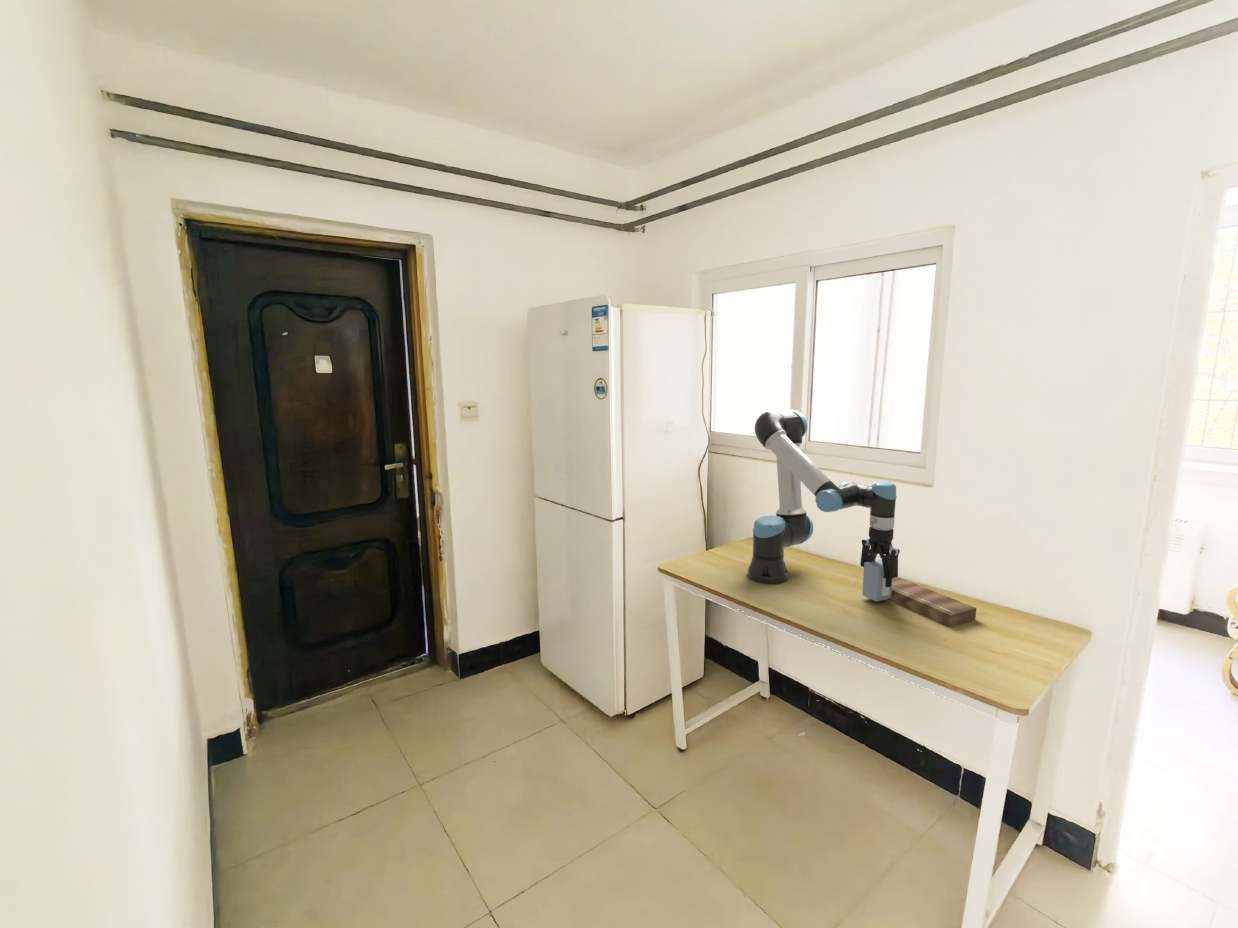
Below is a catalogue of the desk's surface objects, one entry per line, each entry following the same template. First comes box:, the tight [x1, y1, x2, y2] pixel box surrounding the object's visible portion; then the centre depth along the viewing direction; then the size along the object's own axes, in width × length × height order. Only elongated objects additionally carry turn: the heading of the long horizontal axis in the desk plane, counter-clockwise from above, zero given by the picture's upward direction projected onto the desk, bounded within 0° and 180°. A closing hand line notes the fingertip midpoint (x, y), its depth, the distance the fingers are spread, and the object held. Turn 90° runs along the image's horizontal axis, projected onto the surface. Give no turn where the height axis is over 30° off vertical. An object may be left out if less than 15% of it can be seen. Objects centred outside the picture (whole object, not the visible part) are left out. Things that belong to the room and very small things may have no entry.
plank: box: [887, 576, 977, 628], centre depth 181 cm, size 30×12×4 cm, turn 23°
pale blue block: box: [861, 559, 893, 602], centre depth 185 cm, size 6×11×12 cm, turn 113°
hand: (876, 591), depth 185 cm, fingers closed on pale blue block, 6 cm apart
